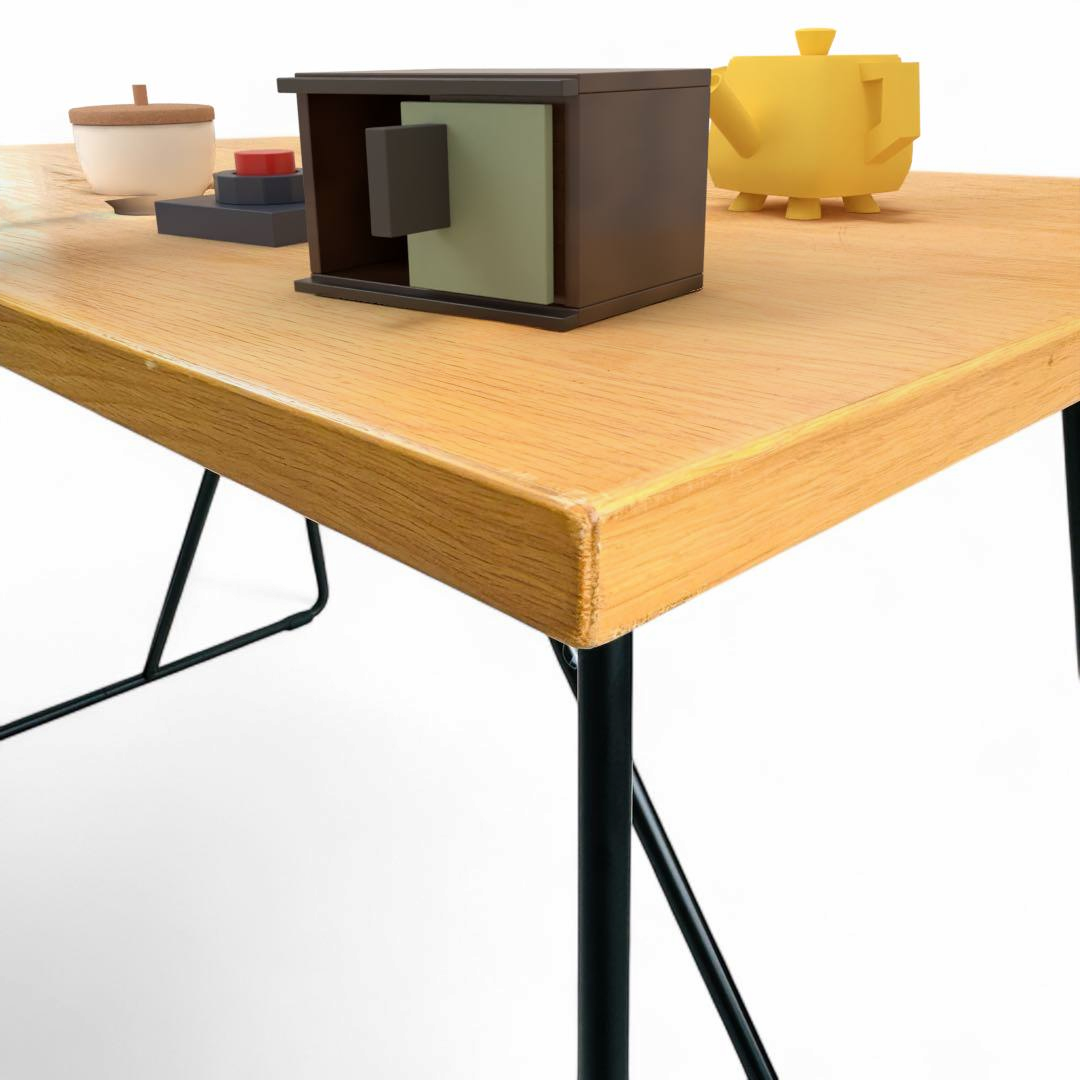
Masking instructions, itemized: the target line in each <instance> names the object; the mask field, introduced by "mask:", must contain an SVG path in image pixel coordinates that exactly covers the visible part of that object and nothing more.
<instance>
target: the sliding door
mask: <svg viewBox="0 0 1080 1080" xmlns="http://www.w3.org/2000/svg"><path fill="white" fill-rule="evenodd" d="M401 118H402V125H401V126H388V127H376V128H367V129H366V130H365V131H366V147H367V163H368V179H369V195H370V212H371V228H372V235H373V236H380V237H390V238H392V237H398V236H403V235H408V255H409V274H410V286H411V287H417V288H424V289H431V290H439V291H446V292H454V293H461V294H469V295H476V296H484V297H491V298H498V299H506V300H513V301H521V302H528V303H536V304H543V305H547V304H551V303H553V302H554V287H553V143H552V104H530V103H478V102H425V101H404V102H401Z"/></svg>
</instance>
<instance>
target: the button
mask: <svg viewBox="0 0 1080 1080" xmlns="http://www.w3.org/2000/svg"><path fill="white" fill-rule="evenodd" d="M233 156H234V166H235V167H234V168H235V169H236V175H280V174H291V173H296V168H297V167H296V156H295V151H294V150H293V149H283V148H282V149H280V148H278V149H277V148H276V149H275V148H274V149H273V148H268V149H246V150H238V151H234V153H233Z"/></svg>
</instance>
